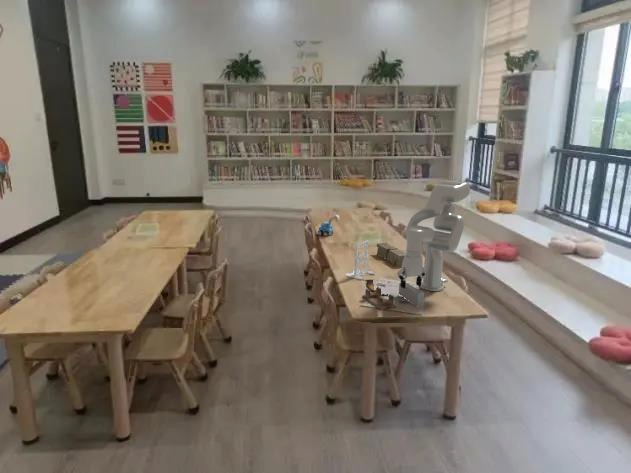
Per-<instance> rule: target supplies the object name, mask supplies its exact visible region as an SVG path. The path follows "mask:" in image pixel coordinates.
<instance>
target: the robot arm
mask: <svg viewBox="0 0 631 473" xmlns="http://www.w3.org/2000/svg"><path fill="white" fill-rule="evenodd" d="M470 192H471V186H470V184H469V183H468V182H466V181H457V180H456V181H455V180H441V181H439V182H438V183H437V184H436V185H434V187H433V188H432V190H431V193H430V195H429V197H428V199H427V201H426V204H425V205H424V207H423V208H421V209H419V210H418V211H417V212H415V213H414V214H413V215H412V216H411V218H410V219H409V221H408V224H407V225H406V229H405V236H406V239H407V241H406V251H405V252H406V256H404V259H403V262H402V267H400V269H399V270H398V271H397V272H396V273H397V277H398V278H399V279H400V283H401V284H400V286H401V287H402V288H405V286H406V283H407V281H406V279H407V278H409V277H416V276H417V277H416V280H415V284H416V285H417V286H418V287H419V288H421V289H422V288H423V290H424V289H425V291H429V292H440V291H443V290H444V285H443V284H447V283H449V280H448V278H445V279H443V278H442V276H443V266H444V265H443V264H444V256H443V252H442V251H444V252H449V253H453V252H455V251H456V250H457V248H458V246H459V244H460V241H461V238H462V235H463V233H464V232H463V231H464V230H465V229H464V228H465V219H464V217H463V216H461V215H458V214H454V213H455V210H456V205H455V204H456V203H459V202H461V201H464V200H465V199H467V198H468V197H469V194H470ZM431 218H434V219H433V223H432V225H433V228H434V229H435V230H434V229H432V227H428V226H422V225H419V224H420V223H421V222H423V221H424V220H427V219H431ZM423 243H424V248H425V249H424V250H423ZM424 253H425V254H424ZM422 254H424V262H423V256H422ZM423 263H424V264H423ZM423 265H424V266H423Z"/></svg>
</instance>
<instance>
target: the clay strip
mask: <svg viewBox="0 0 631 473" xmlns="http://www.w3.org/2000/svg"><path fill="white" fill-rule="evenodd" d="M400 284H401V282H399V283H398V286H399V287H398V295H399V294H400V295H402V296H403V297H405V298H406V299H407V300H409V301H410V302H411V303H410V302H409V301H408V302H409V303H410V304H412V305H413V304H414V305H413V306H415V307H417V308H419V307H423V306H424V301H425V300H424V299H425V298H424V297H425V292H423V291H421V290H420V289H418V288H417V287H415V286H413V285H410V284H409V283H407V282H406V286H405V288H402V287H401V286H400ZM407 300H406V301H407Z"/></svg>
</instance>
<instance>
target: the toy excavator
mask: <svg viewBox="0 0 631 473" xmlns="http://www.w3.org/2000/svg"><path fill="white" fill-rule="evenodd" d="M333 221H335V222H339V221H340V215H338V214H335V215H333V216H332V217H330V218H329V219H328V221H325V222H322V223H321V224H320V226H319V227H318V231H317V235H318V236H322V235H323V236H324V237H325V238H327V237H328V236H331V235H333V234H334V230H335V228H334V227H333Z"/></svg>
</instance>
